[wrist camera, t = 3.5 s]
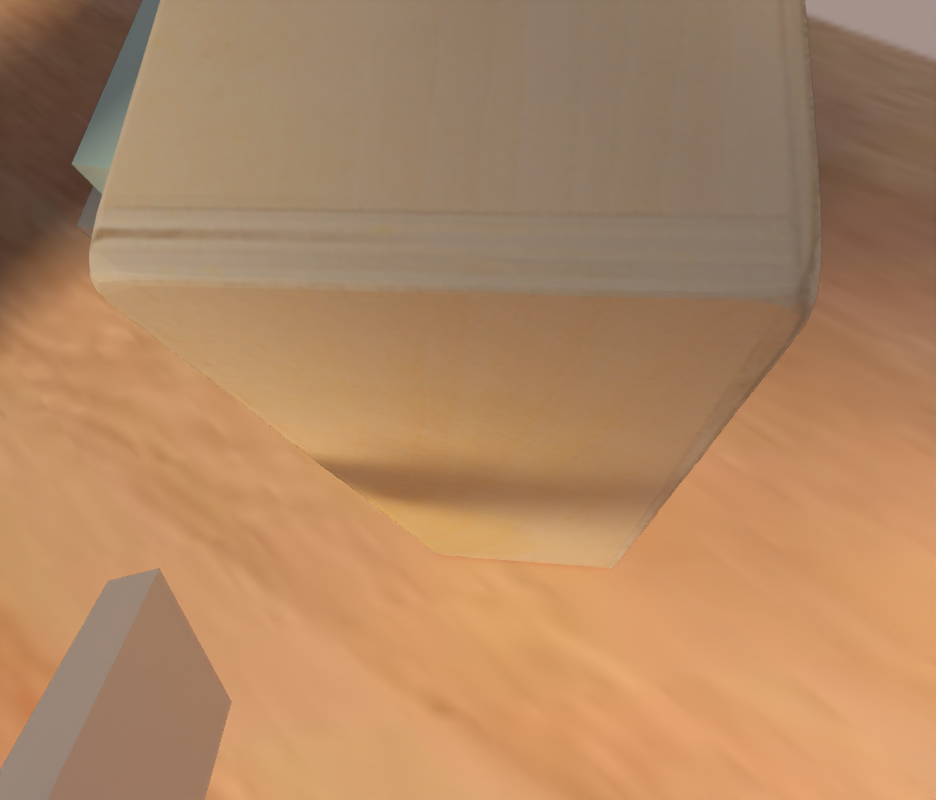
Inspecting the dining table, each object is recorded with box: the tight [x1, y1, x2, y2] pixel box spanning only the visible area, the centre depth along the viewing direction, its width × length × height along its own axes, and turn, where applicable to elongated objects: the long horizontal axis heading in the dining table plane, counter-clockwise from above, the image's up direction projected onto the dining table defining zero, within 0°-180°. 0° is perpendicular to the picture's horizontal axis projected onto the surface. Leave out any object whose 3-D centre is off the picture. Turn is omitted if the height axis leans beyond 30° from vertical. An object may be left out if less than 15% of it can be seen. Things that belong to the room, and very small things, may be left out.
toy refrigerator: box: [89, 0, 821, 568], centre depth 17 cm, size 8×7×21 cm
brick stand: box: [72, 0, 160, 238], centre depth 30 cm, size 15×15×6 cm
